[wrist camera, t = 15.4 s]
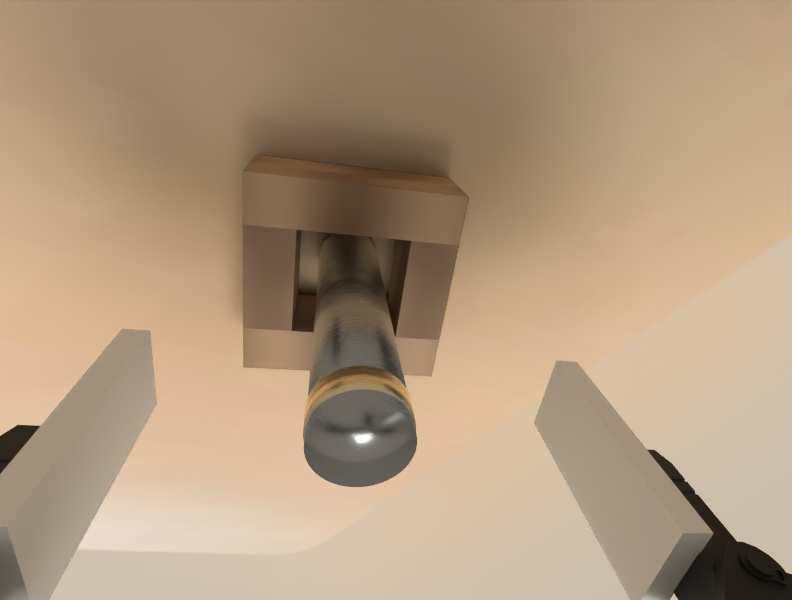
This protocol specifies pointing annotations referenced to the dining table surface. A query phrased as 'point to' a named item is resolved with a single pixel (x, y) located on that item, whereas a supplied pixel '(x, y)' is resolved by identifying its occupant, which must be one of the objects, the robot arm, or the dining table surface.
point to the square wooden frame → (352, 215)
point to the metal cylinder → (355, 373)
